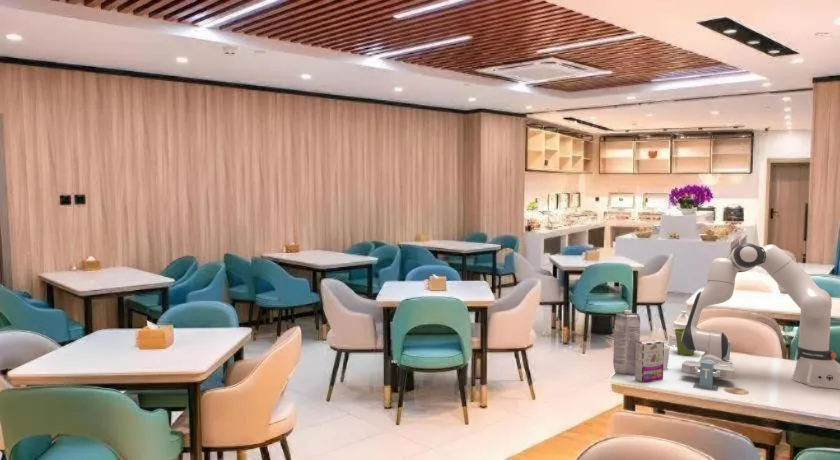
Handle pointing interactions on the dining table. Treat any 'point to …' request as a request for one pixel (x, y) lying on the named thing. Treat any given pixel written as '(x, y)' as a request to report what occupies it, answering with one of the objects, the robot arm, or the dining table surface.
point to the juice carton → (626, 342)
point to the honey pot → (678, 327)
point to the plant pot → (680, 347)
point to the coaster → (736, 391)
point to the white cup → (666, 357)
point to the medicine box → (728, 351)
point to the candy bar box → (649, 360)
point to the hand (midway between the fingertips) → (706, 374)
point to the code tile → (714, 388)
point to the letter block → (706, 374)
